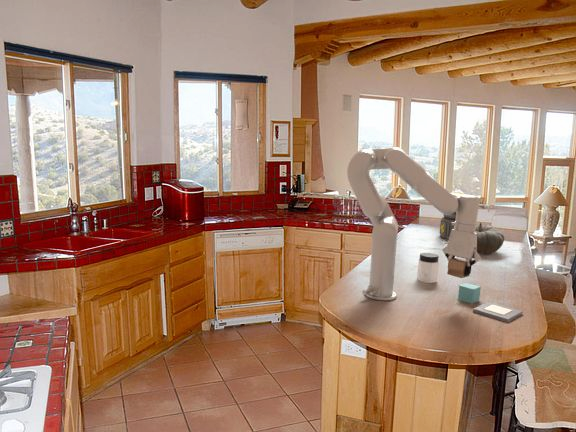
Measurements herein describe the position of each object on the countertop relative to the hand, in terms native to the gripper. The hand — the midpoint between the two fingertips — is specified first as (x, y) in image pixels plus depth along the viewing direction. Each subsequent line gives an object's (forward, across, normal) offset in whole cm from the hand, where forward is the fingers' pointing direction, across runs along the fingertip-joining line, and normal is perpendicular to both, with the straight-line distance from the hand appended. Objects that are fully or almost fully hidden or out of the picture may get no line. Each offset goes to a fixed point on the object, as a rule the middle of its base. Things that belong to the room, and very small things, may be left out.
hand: (458, 272), depth 186 cm
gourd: (+12, -36, +97) cm, 104 cm away
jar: (+13, -24, +20) cm, 34 cm away
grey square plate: (+12, +15, +5) cm, 20 cm away
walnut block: (+1, 0, 0) cm, 1 cm away
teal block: (+13, +1, +10) cm, 16 cm away
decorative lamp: (+13, -66, +122) cm, 139 cm away
